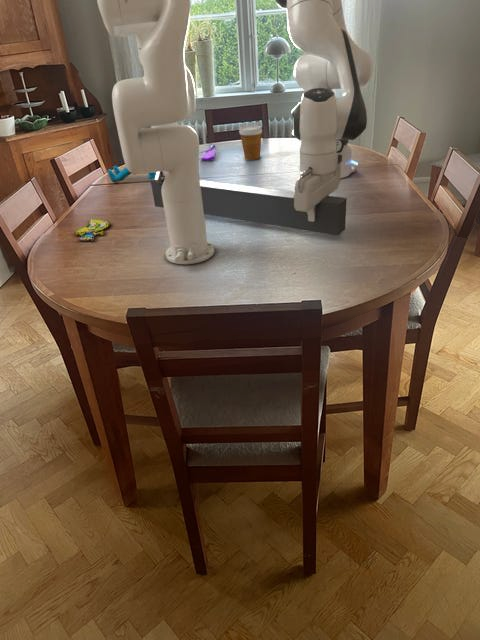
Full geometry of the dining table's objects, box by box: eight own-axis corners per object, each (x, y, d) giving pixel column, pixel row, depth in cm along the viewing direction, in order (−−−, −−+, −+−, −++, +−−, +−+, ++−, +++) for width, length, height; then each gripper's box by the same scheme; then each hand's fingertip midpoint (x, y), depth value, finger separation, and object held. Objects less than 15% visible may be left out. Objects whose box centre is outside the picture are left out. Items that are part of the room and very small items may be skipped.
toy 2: (118, 158, 191) (184, 137, 181) (129, 184, 196) (194, 165, 186) (99, 171, 177) (170, 149, 167) (111, 198, 182) (181, 178, 172)
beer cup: (238, 160, 197) (235, 130, 191) (244, 154, 205) (242, 125, 198) (260, 160, 194) (258, 129, 188) (266, 154, 202) (264, 124, 195)
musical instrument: (187, 168, 197) (231, 153, 201) (185, 163, 196) (230, 148, 200) (173, 159, 217) (213, 146, 221) (171, 155, 216) (212, 141, 220)
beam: (155, 206, 151) (150, 179, 147) (164, 201, 155) (159, 175, 150) (338, 236, 122) (339, 203, 117) (345, 229, 125) (346, 197, 121)
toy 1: (64, 237, 138) (89, 218, 150) (65, 240, 139) (90, 221, 151) (95, 238, 136) (118, 218, 148) (96, 241, 136) (119, 221, 148)
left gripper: (156, 143, 130) (167, 207, 140) (193, 129, 142) (201, 189, 152) (136, 141, 134) (148, 204, 144) (174, 128, 146) (182, 187, 156)
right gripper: (311, 176, 109) (311, 232, 116) (345, 153, 123) (343, 205, 130) (286, 173, 112) (288, 229, 119) (322, 151, 126) (322, 202, 133)
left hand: (175, 196), depth 148 cm, fingers closed on beam, 4 cm apart
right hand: (317, 216), depth 125 cm, fingers closed on beam, 4 cm apart
